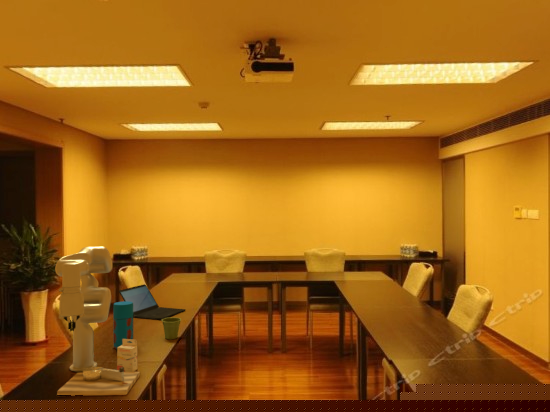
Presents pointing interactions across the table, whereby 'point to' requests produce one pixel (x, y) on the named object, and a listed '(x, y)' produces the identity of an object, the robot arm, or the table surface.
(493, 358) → the table surface
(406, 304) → the table surface
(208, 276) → the table surface
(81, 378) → the base plate
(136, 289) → the laptop
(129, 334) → the thermos
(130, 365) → the ink cartridge box
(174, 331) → the plant pot
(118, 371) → the small saucepan
